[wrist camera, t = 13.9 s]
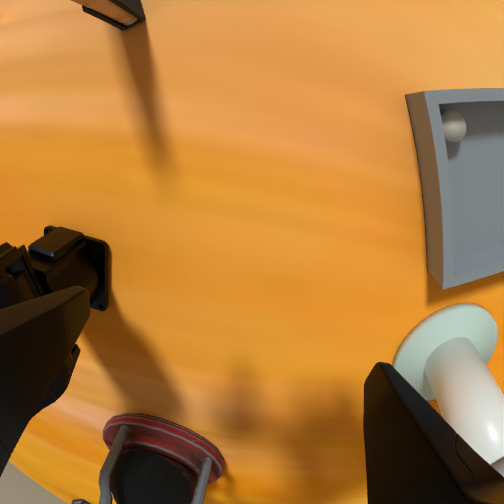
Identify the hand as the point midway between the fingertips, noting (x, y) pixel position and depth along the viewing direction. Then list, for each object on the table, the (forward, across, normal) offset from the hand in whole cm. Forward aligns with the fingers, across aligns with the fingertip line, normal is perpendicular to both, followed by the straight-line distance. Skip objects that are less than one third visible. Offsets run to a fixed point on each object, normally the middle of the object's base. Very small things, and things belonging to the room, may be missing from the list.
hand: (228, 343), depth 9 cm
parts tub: (+13, -16, -8) cm, 22 cm away
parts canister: (+12, -19, +8) cm, 24 cm away
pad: (+13, -20, +8) cm, 25 cm away
